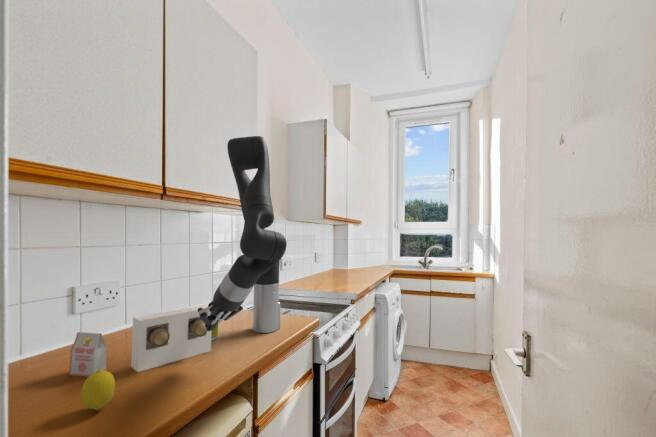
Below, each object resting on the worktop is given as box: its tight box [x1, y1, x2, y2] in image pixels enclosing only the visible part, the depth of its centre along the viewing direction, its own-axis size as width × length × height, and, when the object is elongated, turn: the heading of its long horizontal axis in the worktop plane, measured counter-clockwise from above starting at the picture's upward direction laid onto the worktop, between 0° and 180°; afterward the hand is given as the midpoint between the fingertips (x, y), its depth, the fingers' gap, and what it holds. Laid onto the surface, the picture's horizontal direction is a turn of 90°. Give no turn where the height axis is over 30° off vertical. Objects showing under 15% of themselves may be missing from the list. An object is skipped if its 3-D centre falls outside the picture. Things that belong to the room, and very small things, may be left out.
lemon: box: [80, 369, 116, 412], centre depth 64 cm, size 6×6×8 cm
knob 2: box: [188, 319, 207, 337], centre depth 93 cm, size 4×6×4 cm
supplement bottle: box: [211, 324, 219, 341], centre depth 107 cm, size 5×5×10 cm
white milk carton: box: [68, 331, 108, 378], centre depth 80 cm, size 4×7×10 cm, turn 81°
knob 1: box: [148, 327, 170, 347], centre depth 85 cm, size 4×6×4 cm
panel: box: [130, 304, 212, 373], centre depth 90 cm, size 20×5×13 cm, turn 139°
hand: (209, 328), depth 88 cm, fingers closed
